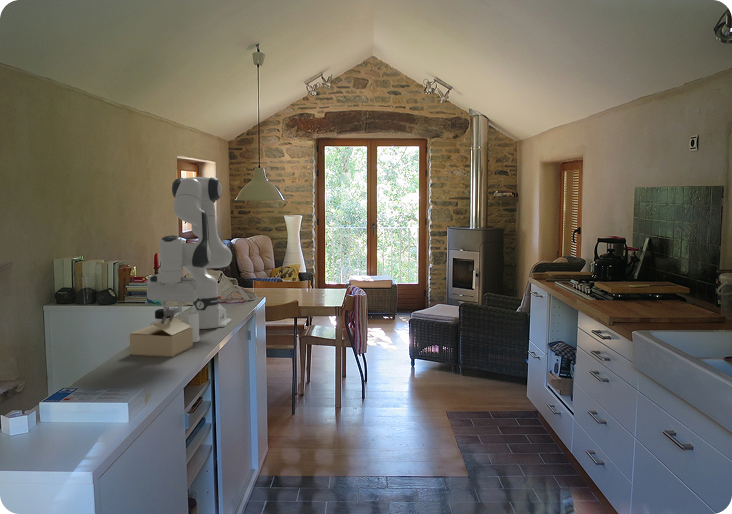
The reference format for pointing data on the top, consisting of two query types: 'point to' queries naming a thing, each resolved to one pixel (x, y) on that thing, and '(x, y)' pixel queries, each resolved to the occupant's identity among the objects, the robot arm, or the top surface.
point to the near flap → (171, 323)
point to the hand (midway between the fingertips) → (172, 312)
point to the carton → (160, 342)
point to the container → (159, 316)
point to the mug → (191, 322)
